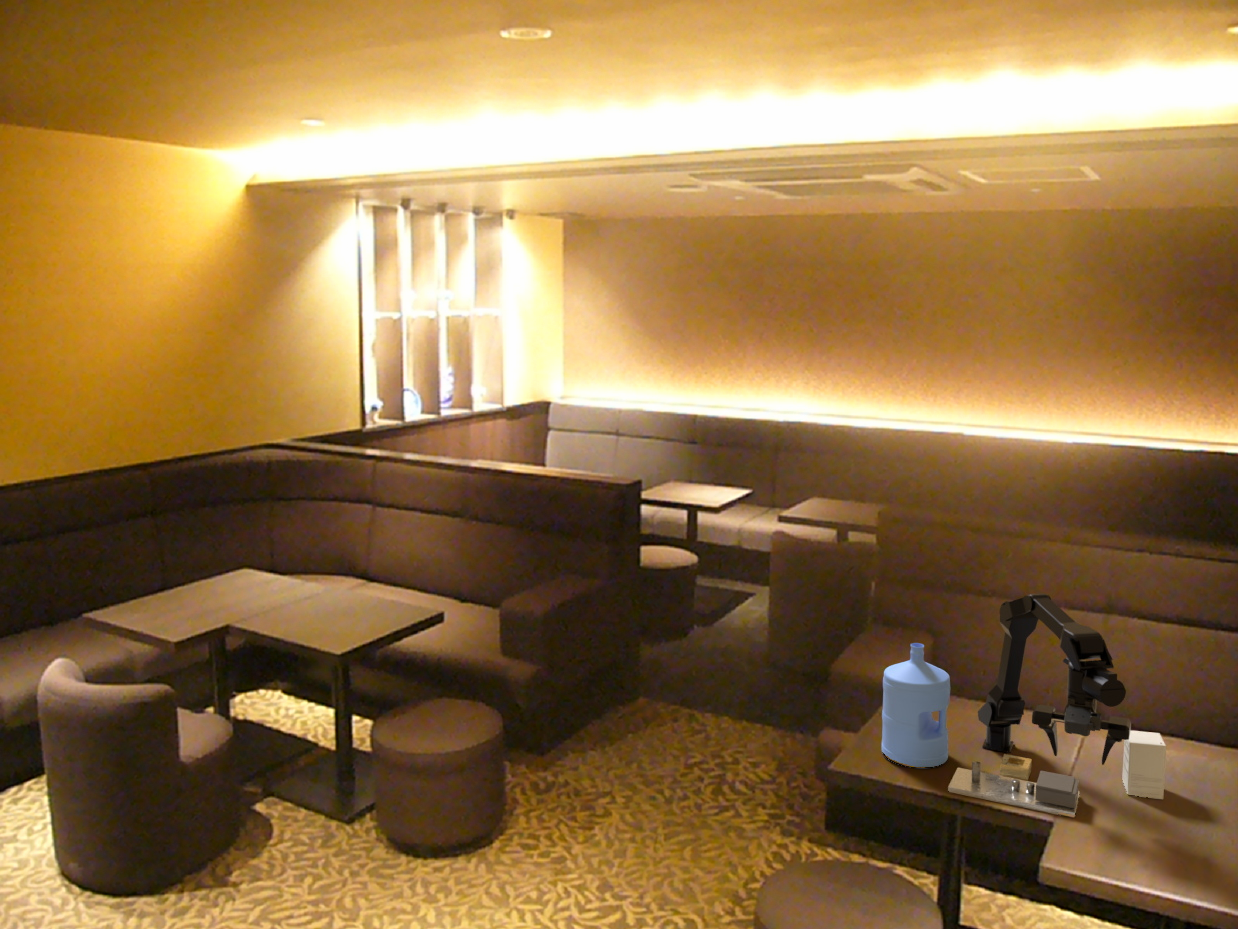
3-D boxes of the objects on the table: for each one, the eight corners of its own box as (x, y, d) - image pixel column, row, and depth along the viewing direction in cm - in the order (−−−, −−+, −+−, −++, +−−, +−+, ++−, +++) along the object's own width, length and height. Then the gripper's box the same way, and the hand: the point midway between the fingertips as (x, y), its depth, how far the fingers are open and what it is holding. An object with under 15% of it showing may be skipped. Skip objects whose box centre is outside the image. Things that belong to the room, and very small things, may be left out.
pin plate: (957, 772, 231) (958, 749, 230) (1079, 796, 218) (1080, 772, 217) (948, 791, 221) (948, 768, 221) (1074, 818, 209) (1076, 793, 208)
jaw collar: (1003, 766, 234) (1004, 754, 233) (1031, 771, 231) (1031, 759, 230) (999, 776, 229) (1000, 763, 228) (1027, 781, 226) (1028, 769, 225)
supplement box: (1157, 785, 223) (1160, 732, 221) (1163, 800, 216) (1167, 746, 214) (1121, 781, 225) (1124, 728, 223) (1126, 796, 218) (1129, 741, 216)
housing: (1039, 785, 220) (1040, 770, 220) (1078, 793, 217) (1078, 777, 216) (1035, 800, 214) (1036, 785, 213) (1074, 808, 210) (1075, 793, 209)
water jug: (873, 761, 237) (876, 649, 233) (890, 738, 251) (892, 631, 247) (940, 775, 229) (944, 659, 226) (953, 750, 243) (957, 640, 239)
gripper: (1029, 694, 207) (1026, 765, 209) (1128, 709, 197) (1125, 784, 199) (1037, 678, 216) (1034, 746, 218) (1132, 692, 207) (1129, 763, 209)
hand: (1079, 759), depth 211 cm, fingers open, 9 cm apart
